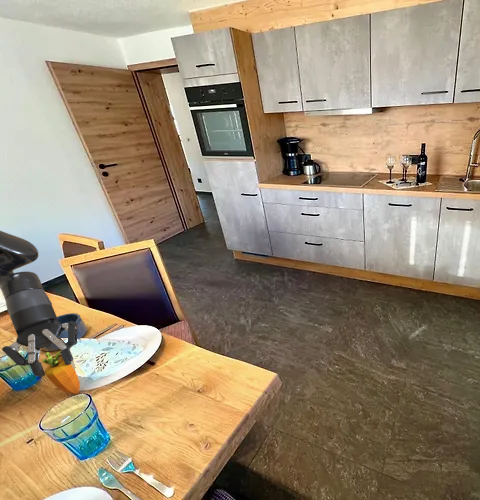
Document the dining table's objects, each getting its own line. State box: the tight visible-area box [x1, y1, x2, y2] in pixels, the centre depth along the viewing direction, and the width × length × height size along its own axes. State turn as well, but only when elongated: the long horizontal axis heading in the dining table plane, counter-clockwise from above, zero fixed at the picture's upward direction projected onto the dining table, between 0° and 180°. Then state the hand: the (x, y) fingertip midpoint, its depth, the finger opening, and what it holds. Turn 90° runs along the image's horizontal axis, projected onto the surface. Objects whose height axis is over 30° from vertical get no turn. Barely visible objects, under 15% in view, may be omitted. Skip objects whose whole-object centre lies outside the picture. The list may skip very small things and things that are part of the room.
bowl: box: [41, 312, 88, 352], centre depth 97 cm, size 12×12×6 cm
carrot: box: [41, 350, 81, 395], centre depth 75 cm, size 5×5×15 cm
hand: (55, 369), depth 73 cm, fingers closed on carrot, 4 cm apart
